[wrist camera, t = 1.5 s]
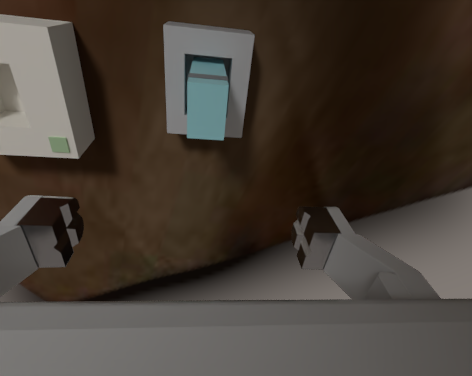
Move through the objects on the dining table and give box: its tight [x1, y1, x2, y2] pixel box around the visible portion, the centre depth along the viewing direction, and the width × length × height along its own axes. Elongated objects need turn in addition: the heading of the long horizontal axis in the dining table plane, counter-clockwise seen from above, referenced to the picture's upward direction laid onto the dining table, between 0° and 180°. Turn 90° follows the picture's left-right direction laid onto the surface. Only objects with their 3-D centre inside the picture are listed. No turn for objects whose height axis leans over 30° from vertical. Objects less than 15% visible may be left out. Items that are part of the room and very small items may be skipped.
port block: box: [0, 14, 95, 159], centre depth 27 cm, size 12×12×5 cm
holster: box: [163, 21, 255, 138], centre depth 29 cm, size 10×8×4 cm
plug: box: [187, 57, 229, 140], centre depth 25 cm, size 4×3×10 cm
